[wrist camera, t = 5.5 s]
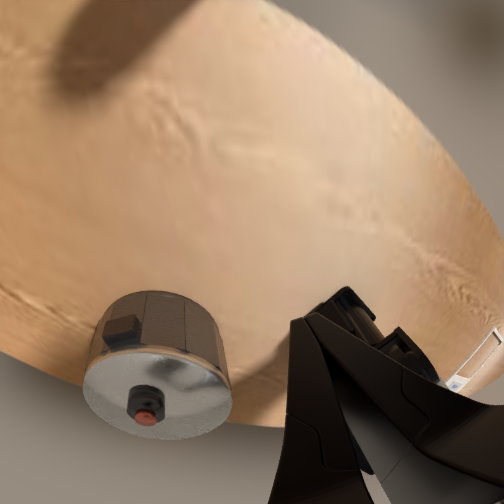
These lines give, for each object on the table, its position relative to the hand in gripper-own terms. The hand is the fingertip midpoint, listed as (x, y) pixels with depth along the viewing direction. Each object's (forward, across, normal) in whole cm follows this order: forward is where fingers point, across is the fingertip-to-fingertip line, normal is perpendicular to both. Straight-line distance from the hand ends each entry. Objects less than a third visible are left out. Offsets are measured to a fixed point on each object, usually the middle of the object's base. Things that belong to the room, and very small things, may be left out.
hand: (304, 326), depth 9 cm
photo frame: (+14, -40, +47) cm, 63 cm away
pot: (+13, +10, +10) cm, 19 cm away
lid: (+7, +10, +10) cm, 16 cm away
